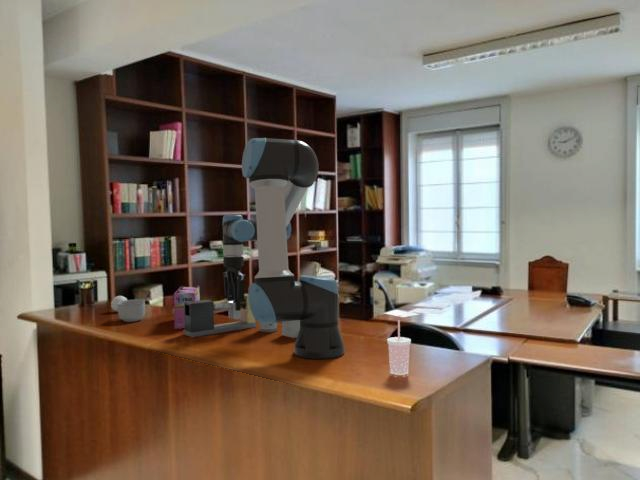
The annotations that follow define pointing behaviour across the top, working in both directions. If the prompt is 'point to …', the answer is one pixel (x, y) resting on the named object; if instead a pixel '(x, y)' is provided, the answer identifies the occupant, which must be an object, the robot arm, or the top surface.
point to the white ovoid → (116, 300)
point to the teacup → (131, 310)
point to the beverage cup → (399, 353)
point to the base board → (221, 329)
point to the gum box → (179, 298)
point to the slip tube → (227, 305)
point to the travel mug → (268, 327)
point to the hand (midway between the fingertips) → (234, 318)
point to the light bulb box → (291, 328)
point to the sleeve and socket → (209, 315)
